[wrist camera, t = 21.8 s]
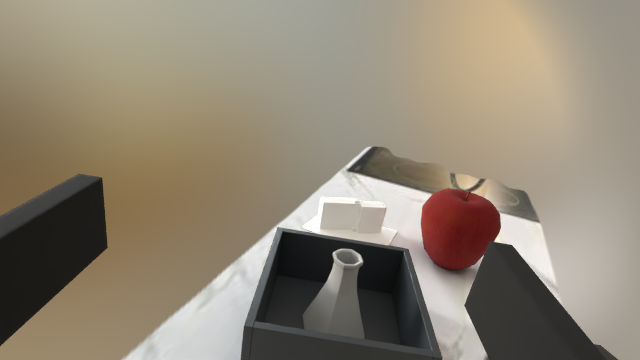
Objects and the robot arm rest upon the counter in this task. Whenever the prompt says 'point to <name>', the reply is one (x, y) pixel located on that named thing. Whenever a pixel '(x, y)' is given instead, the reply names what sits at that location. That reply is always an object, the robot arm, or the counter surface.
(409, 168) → the counter surface
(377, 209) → the napkin holder
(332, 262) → the storage bin
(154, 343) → the counter surface
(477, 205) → the apple
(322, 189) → the counter surface
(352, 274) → the flask
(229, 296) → the counter surface
